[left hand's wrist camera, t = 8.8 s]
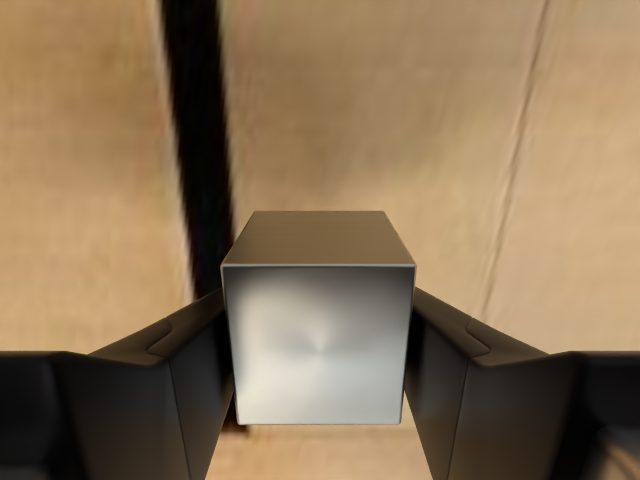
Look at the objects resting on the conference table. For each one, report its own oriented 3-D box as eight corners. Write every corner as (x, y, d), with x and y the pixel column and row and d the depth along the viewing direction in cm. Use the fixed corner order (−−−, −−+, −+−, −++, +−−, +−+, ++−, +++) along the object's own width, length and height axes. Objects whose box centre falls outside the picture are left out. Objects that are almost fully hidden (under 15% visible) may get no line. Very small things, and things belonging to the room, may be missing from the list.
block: (384, 210, 11) (418, 264, 7) (376, 329, 13) (401, 426, 9) (253, 210, 11) (218, 264, 7) (262, 329, 13) (236, 426, 9)
